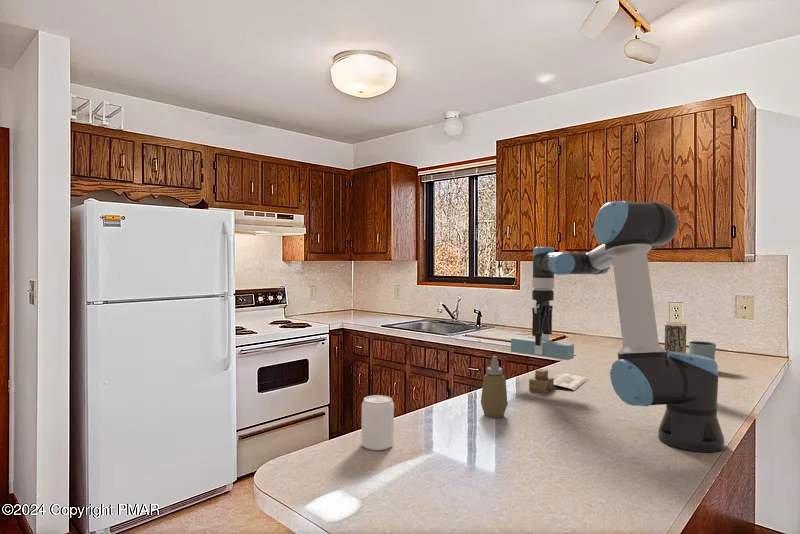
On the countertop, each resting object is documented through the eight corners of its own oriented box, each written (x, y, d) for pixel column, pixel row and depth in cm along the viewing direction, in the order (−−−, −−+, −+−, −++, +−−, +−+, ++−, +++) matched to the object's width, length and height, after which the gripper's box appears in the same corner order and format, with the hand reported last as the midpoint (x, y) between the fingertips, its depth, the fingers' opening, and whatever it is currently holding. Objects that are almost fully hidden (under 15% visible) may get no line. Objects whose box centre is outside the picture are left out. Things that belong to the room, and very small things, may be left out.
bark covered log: (687, 396, 183) (689, 325, 183) (666, 394, 184) (668, 324, 184) (681, 391, 190) (682, 322, 189) (661, 390, 191) (662, 322, 191)
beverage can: (376, 438, 138) (376, 392, 138) (399, 445, 133) (400, 398, 132) (354, 446, 132) (355, 399, 131) (378, 454, 126) (379, 405, 126)
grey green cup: (720, 372, 223) (721, 344, 222) (703, 373, 219) (704, 345, 219) (699, 367, 232) (700, 340, 232) (682, 368, 228) (683, 341, 228)
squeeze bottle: (487, 420, 154) (488, 359, 153) (476, 412, 162) (477, 354, 161) (512, 418, 156) (513, 358, 156) (500, 410, 164) (500, 353, 163)
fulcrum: (545, 393, 185) (545, 373, 185) (529, 390, 189) (529, 371, 189) (553, 388, 192) (553, 369, 191) (537, 386, 195) (538, 367, 195)
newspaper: (556, 377, 213) (557, 371, 213) (587, 384, 207) (588, 378, 206) (539, 388, 194) (540, 381, 194) (572, 396, 187) (573, 389, 187)
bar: (568, 360, 181) (568, 345, 181) (510, 351, 195) (511, 338, 195) (573, 358, 185) (574, 344, 185) (517, 350, 199) (517, 336, 199)
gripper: (542, 287, 199) (541, 348, 200) (522, 290, 185) (521, 355, 185) (562, 288, 194) (561, 350, 195) (543, 291, 180) (541, 358, 181)
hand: (541, 353), depth 190 cm, fingers closed on bar, 5 cm apart
